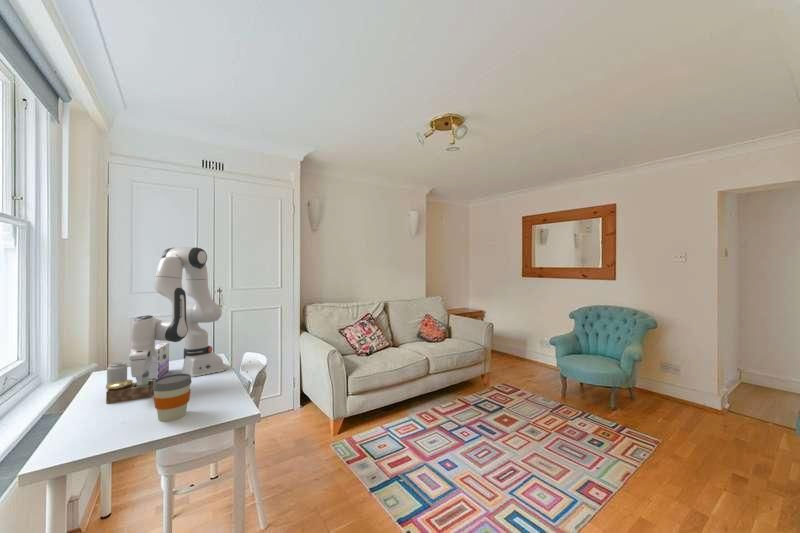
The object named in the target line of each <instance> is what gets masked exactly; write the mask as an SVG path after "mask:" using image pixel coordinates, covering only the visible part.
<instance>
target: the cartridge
mask: <svg viewBox="0 0 800 533" xmlns="http://www.w3.org/2000/svg"><path fill="white" fill-rule="evenodd" d="M142 380H143V383H142V384H141V385H137V387H140V386H147V385H149V381H150V380H149V372H145V373H144V374H143V377H142Z"/></svg>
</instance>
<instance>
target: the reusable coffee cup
mask: <svg viewBox="0 0 800 533" xmlns="http://www.w3.org/2000/svg"><path fill="white" fill-rule="evenodd" d="M153 380H154V383H153V390H154V393H153V395H152V396H153V403H154V408H155V409H156V413H157V420H158V421H159V422H164V423H166V422H172V421H177V420H179V419H181V418H183V417H185V416H186V414H187V408H188V403H189V402H190V398H191V397H190V396H191V391H192V390H191V384H192V377H191V375H190V374H181V373H173V374H168V375H163V376H162V377H160V378H158V379H153Z"/></svg>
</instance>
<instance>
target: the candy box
mask: <svg viewBox="0 0 800 533" xmlns="http://www.w3.org/2000/svg"><path fill="white" fill-rule="evenodd" d="M169 371H170V343H169V342H163V343H162V342H161V343H155V354H153V355H152V365H151V366H150V367H149V370H148V372H149V381H150V380H156V379H158V378H160V377H163V376H165V375H166V374H167V373H168V372H169Z"/></svg>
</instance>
